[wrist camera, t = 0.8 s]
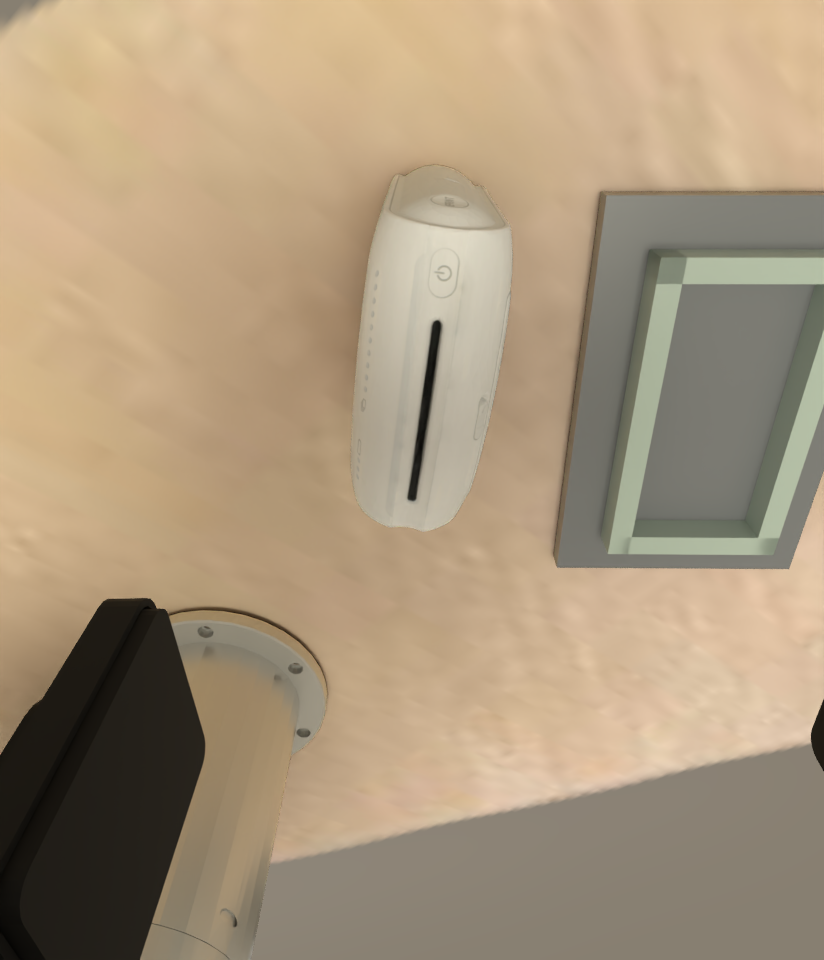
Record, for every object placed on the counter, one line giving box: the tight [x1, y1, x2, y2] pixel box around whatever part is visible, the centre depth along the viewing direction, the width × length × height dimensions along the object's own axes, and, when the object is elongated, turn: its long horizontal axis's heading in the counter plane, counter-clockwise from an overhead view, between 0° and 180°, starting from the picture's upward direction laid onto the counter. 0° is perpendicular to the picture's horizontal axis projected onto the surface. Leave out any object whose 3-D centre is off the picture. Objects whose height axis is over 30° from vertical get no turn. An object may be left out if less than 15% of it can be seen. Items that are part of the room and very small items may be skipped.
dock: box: [554, 192, 824, 569], centre depth 30 cm, size 18×12×2 cm, turn 0°
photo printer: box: [351, 165, 513, 532], centre depth 24 cm, size 10×4×12 cm, turn 173°
